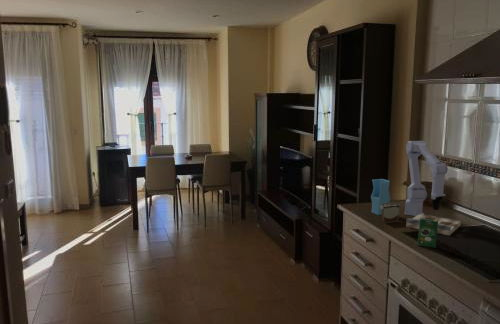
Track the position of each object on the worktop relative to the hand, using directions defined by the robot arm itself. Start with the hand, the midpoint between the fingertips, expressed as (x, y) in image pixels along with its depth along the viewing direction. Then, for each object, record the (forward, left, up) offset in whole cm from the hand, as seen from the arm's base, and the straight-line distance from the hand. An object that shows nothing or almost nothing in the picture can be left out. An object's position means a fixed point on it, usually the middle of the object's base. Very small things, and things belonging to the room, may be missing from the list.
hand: (436, 209), depth 230 cm
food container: (-23, -11, -9) cm, 27 cm away
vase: (-33, +2, -9) cm, 34 cm away
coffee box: (+7, -38, -9) cm, 39 cm away
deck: (0, -4, -8) cm, 9 cm away
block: (0, -10, -6) cm, 12 cm away
